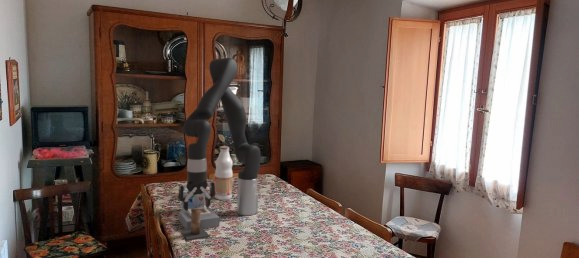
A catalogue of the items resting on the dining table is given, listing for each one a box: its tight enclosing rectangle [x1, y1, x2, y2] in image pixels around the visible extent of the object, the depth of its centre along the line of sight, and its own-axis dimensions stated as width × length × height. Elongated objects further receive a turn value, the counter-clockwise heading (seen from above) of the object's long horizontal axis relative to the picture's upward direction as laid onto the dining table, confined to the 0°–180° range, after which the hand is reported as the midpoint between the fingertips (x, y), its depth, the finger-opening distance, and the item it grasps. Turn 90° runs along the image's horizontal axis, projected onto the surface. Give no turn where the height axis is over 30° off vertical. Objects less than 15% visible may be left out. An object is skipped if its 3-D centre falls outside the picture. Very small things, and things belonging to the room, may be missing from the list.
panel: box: [178, 206, 221, 231], centre depth 166 cm, size 14×14×6 cm
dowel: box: [191, 208, 201, 235], centre depth 153 cm, size 4×4×10 cm
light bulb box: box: [180, 188, 206, 211], centre depth 180 cm, size 11×7×11 cm, turn 105°
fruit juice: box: [214, 145, 234, 201], centre depth 203 cm, size 9×9×28 cm
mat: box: [180, 228, 210, 241], centre depth 153 cm, size 9×9×1 cm
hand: (196, 208), depth 152 cm, fingers open, 8 cm apart
